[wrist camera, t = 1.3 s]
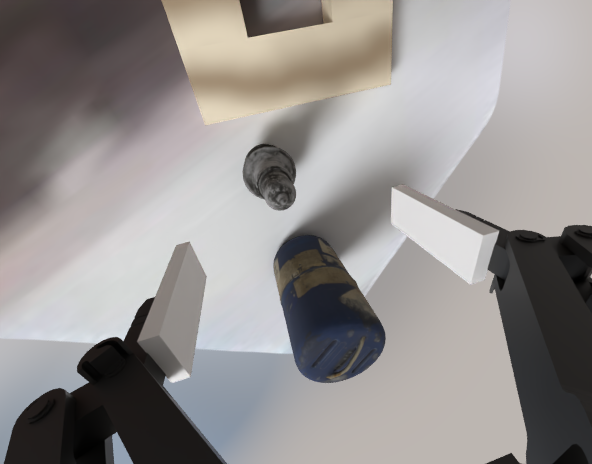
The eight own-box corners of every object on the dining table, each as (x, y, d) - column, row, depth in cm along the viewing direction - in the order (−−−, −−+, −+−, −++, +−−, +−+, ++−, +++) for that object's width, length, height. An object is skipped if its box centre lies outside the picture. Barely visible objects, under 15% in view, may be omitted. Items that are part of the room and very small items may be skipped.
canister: (342, 252, 38) (415, 353, 23) (301, 290, 40) (343, 407, 25) (302, 219, 34) (360, 317, 18) (258, 263, 36) (278, 386, 20)
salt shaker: (286, 138, 28) (317, 159, 18) (292, 185, 31) (321, 227, 21) (236, 145, 27) (239, 172, 17) (247, 193, 30) (254, 241, 20)
